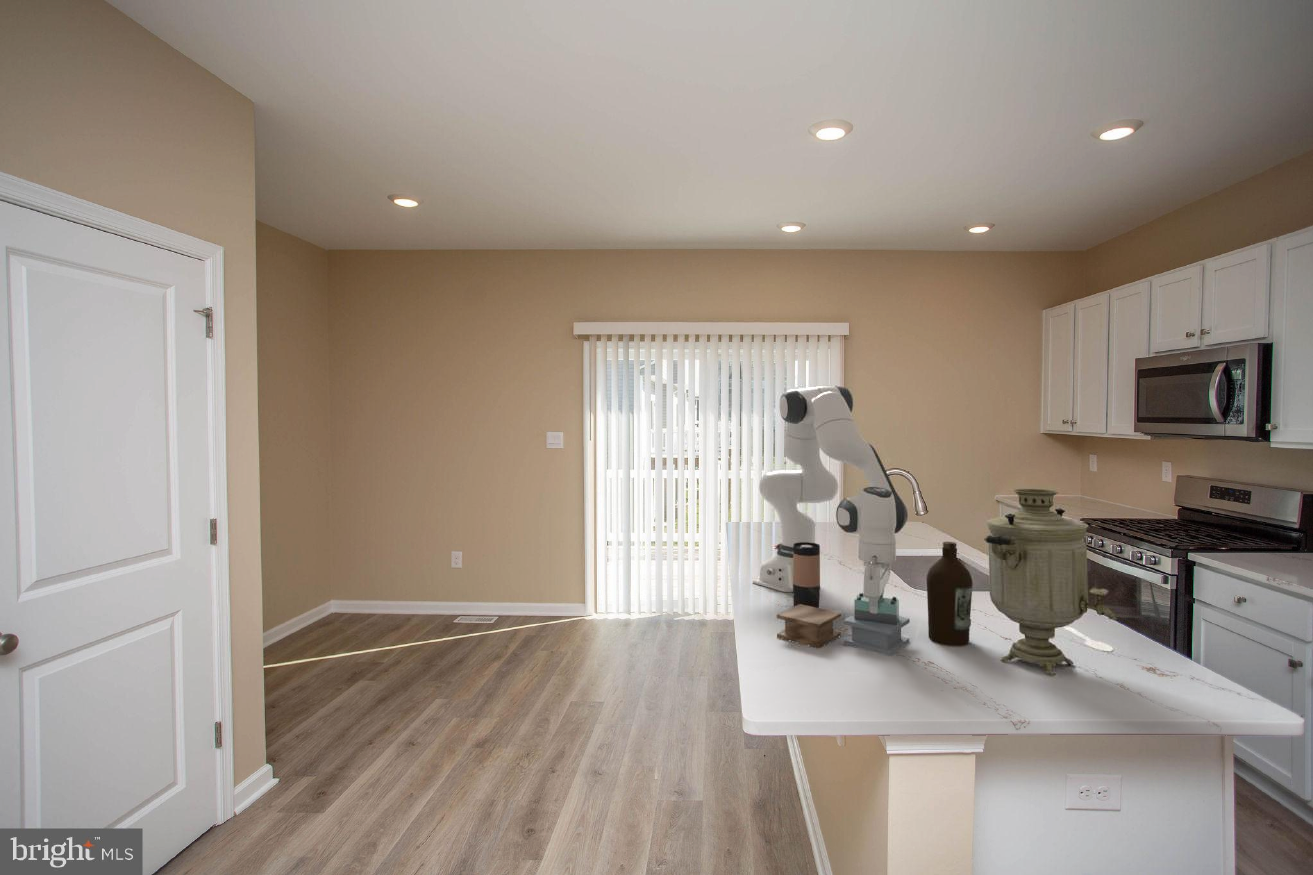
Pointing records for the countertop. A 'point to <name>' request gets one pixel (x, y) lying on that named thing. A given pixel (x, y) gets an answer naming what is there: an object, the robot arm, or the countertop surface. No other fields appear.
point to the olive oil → (949, 599)
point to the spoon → (1091, 641)
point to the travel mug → (806, 574)
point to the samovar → (1039, 575)
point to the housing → (886, 610)
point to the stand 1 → (809, 625)
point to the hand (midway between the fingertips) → (876, 607)
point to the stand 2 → (876, 635)
